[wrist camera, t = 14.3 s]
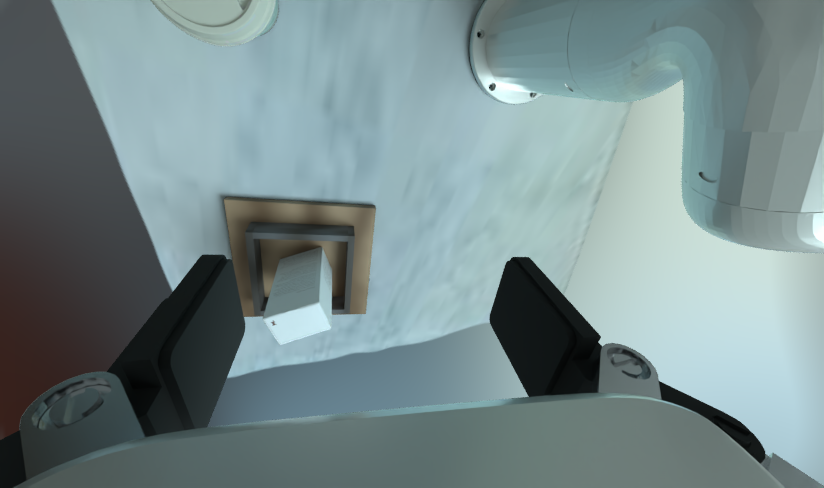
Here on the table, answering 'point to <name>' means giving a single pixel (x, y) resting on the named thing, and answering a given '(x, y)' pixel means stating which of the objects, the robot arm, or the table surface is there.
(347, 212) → the wooden framed tray
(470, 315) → the table surface
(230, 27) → the coffee cup
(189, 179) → the table surface
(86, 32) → the table surface
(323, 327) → the skincare box
